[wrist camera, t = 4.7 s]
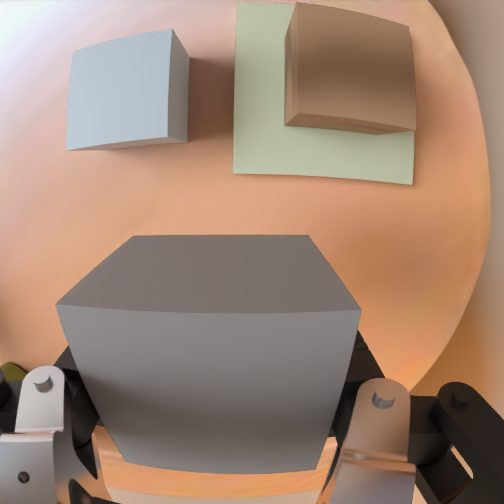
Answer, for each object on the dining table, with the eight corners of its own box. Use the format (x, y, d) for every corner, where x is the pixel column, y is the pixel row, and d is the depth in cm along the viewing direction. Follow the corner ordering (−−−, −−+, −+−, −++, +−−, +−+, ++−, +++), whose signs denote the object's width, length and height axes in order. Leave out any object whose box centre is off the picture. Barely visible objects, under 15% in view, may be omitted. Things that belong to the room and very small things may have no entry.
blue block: (108, 70, 16) (73, 51, 11) (190, 58, 16) (172, 28, 11) (105, 150, 17) (66, 150, 13) (188, 142, 18) (167, 137, 13)
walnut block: (284, 38, 14) (296, 2, 10) (373, 52, 14) (408, 26, 10) (284, 125, 16) (298, 112, 11) (376, 135, 16) (416, 130, 12)
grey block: (133, 235, 10) (55, 304, 5) (308, 235, 10) (361, 309, 5) (156, 369, 12) (126, 462, 7) (294, 371, 12) (315, 469, 7)
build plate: (237, 8, 14) (237, 2, 13) (400, 32, 15) (406, 28, 14) (233, 172, 18) (232, 173, 17) (405, 183, 18) (412, 185, 17)
